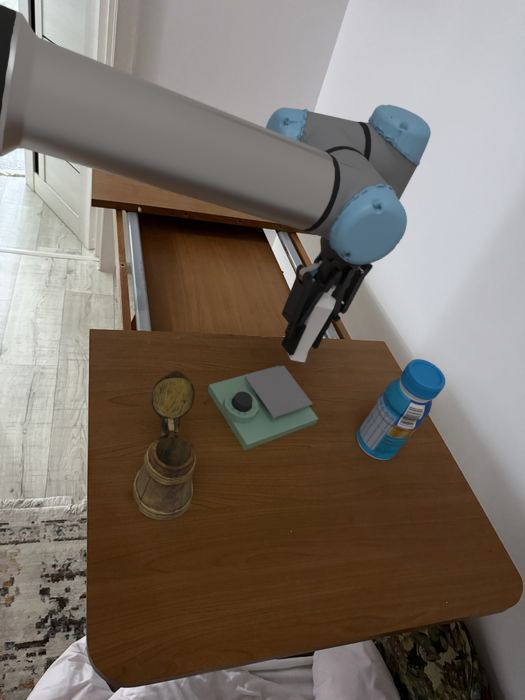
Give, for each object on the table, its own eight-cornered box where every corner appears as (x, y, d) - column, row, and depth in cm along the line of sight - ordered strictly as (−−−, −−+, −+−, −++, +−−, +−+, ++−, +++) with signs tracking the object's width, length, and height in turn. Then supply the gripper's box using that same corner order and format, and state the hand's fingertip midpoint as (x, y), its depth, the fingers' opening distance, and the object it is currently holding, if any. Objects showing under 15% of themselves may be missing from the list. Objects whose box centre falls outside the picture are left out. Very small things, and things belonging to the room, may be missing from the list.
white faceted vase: (308, 346, 88) (341, 279, 78) (310, 365, 85) (345, 296, 75) (283, 341, 87) (313, 272, 77) (284, 360, 84) (316, 290, 74)
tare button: (238, 414, 87) (240, 407, 86) (229, 400, 89) (231, 394, 87) (253, 409, 89) (256, 402, 88) (244, 395, 90) (246, 389, 89)
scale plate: (272, 419, 88) (273, 417, 87) (244, 378, 93) (245, 376, 93) (311, 406, 93) (313, 404, 92) (282, 367, 98) (283, 365, 97)
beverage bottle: (346, 439, 94) (394, 367, 81) (368, 417, 100) (417, 347, 86) (382, 470, 91) (438, 401, 78) (403, 446, 97) (459, 378, 84)
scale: (242, 451, 86) (247, 439, 83) (204, 391, 93) (208, 378, 90) (315, 424, 95) (322, 412, 92) (276, 371, 102) (281, 359, 99)
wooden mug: (185, 442, 84) (207, 369, 72) (195, 518, 75) (222, 450, 63) (130, 442, 81) (143, 367, 69) (133, 522, 72) (149, 451, 60)
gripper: (322, 249, 63) (269, 374, 78) (414, 238, 72) (350, 351, 88) (289, 216, 66) (245, 341, 82) (381, 209, 76) (325, 322, 92)
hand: (299, 346), depth 85 cm, fingers closed on white faceted vase, 5 cm apart
